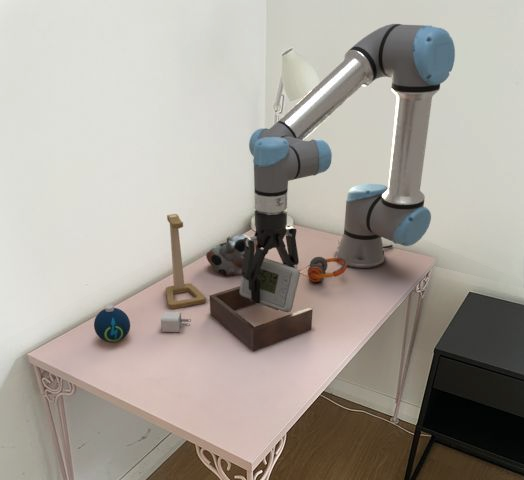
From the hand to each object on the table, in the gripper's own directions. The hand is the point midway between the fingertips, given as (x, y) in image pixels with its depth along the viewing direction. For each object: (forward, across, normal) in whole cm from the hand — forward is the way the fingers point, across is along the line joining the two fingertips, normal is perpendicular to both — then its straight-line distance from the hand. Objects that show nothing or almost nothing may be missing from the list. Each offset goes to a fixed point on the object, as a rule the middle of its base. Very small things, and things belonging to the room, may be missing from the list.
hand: (270, 296), depth 137 cm
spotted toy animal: (+7, +9, +31) cm, 33 cm away
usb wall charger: (+7, -22, +9) cm, 25 cm away
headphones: (+7, +25, +13) cm, 29 cm away
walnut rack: (+7, -3, 0) cm, 7 cm away
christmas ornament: (+6, -37, +13) cm, 40 cm away
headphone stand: (+7, -13, +23) cm, 27 cm away
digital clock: (+2, -1, 0) cm, 2 cm away
